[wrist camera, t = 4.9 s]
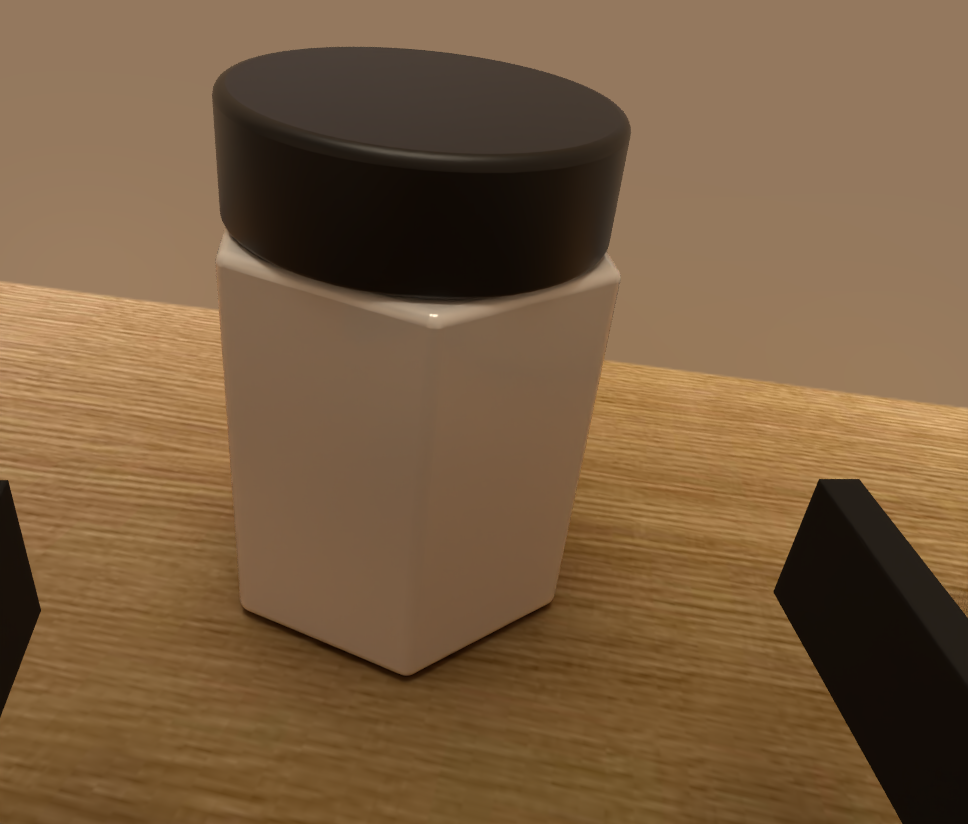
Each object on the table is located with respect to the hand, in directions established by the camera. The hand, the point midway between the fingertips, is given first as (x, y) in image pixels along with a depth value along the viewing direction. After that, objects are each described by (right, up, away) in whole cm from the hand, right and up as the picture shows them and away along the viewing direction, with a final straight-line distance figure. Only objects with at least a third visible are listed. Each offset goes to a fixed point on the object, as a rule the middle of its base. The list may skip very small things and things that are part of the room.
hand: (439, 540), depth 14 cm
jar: (-2, -2, +9) cm, 9 cm away
